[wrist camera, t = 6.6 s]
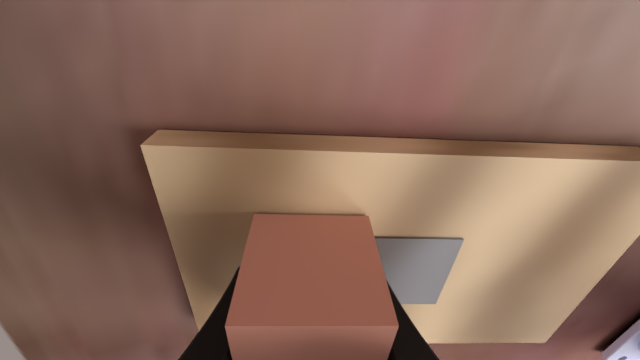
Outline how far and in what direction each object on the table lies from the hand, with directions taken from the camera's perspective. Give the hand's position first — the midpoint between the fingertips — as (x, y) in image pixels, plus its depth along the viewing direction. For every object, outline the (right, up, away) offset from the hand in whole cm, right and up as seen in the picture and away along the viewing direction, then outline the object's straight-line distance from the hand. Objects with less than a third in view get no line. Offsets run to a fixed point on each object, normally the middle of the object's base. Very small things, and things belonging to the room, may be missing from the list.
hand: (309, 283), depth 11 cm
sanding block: (0, 0, 0) cm, 1 cm away
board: (+4, +1, +2) cm, 4 cm away
